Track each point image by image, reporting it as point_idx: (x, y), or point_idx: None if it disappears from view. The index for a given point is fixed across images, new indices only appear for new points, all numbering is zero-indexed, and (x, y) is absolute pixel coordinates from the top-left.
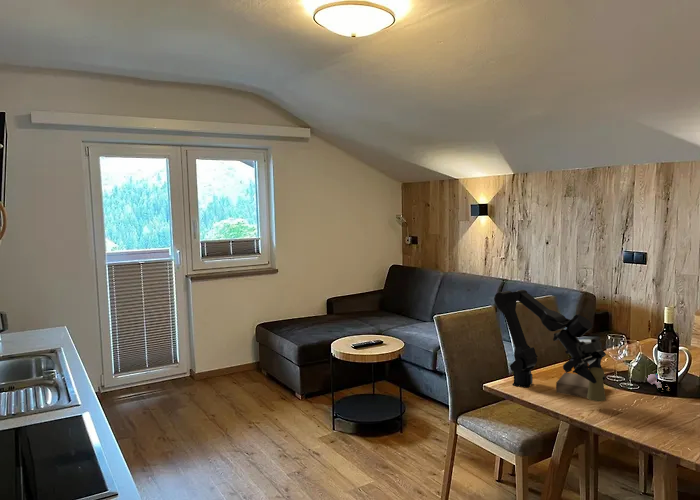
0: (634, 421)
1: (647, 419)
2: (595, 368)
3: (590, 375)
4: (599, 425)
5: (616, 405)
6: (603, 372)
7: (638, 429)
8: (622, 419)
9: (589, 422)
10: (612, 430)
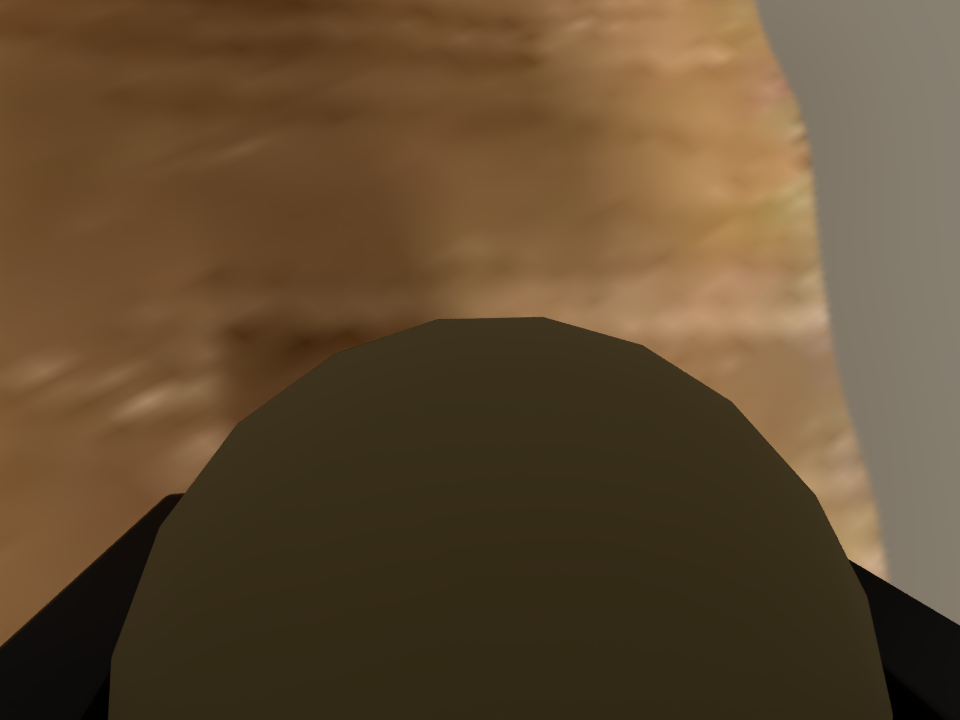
0: (388, 113)
1: (217, 53)
2: (651, 715)
3: (923, 626)
4: (785, 280)
5: (42, 511)
6: (449, 320)
7: (539, 12)
8: (444, 215)
9: (817, 387)
10: (766, 145)
